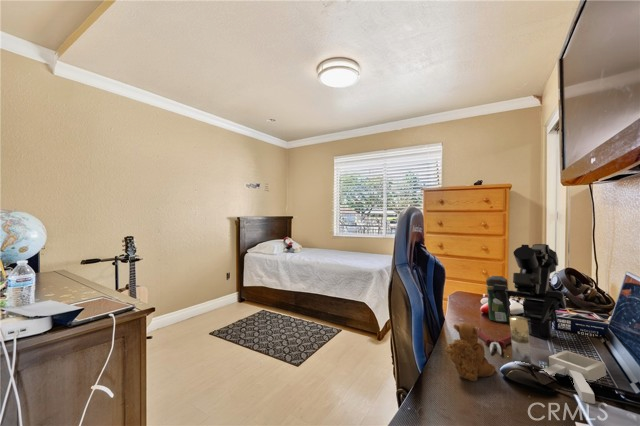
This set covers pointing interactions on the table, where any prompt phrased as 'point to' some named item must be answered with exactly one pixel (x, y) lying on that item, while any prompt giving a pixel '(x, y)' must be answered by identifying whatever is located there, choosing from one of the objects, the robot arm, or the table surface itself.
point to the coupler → (520, 339)
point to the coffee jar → (496, 300)
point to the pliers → (497, 344)
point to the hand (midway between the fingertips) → (523, 318)
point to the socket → (577, 371)
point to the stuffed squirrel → (469, 354)
